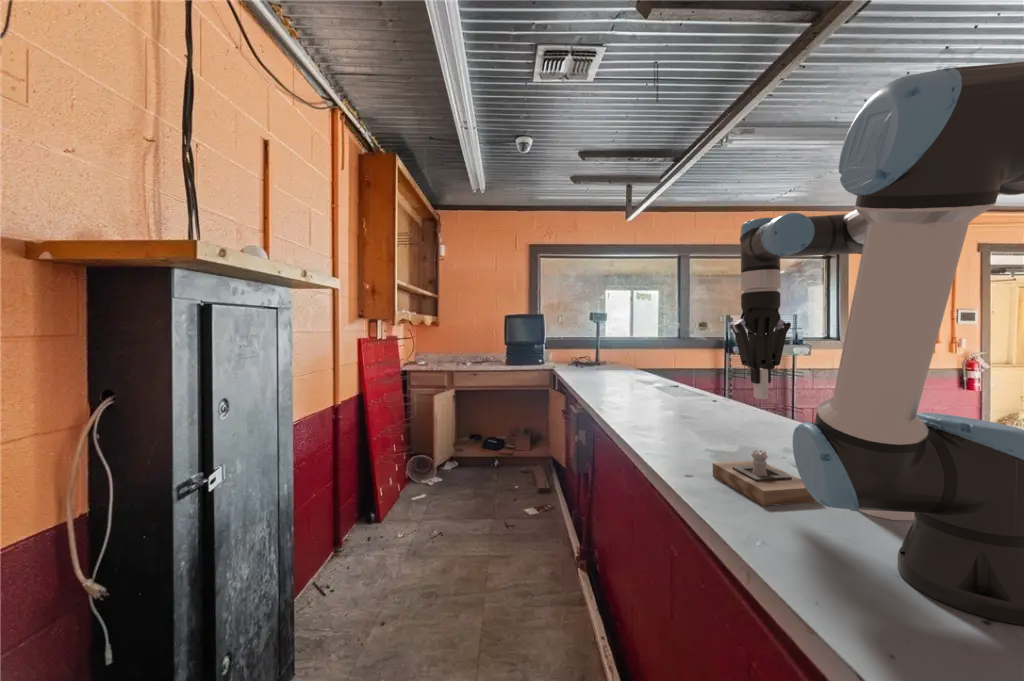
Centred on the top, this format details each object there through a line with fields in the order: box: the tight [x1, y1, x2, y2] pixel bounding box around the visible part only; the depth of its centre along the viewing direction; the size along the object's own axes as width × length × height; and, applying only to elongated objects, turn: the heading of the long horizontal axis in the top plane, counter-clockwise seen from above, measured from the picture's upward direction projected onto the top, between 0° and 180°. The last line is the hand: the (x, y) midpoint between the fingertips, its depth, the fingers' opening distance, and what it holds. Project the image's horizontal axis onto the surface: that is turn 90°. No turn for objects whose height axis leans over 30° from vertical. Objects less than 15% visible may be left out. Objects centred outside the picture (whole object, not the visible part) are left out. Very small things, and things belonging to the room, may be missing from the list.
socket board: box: [712, 460, 819, 506], centre depth 96 cm, size 18×12×4 cm, turn 6°
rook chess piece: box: [751, 449, 769, 476], centre depth 96 cm, size 4×4×8 cm
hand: (760, 397), depth 95 cm, fingers closed
